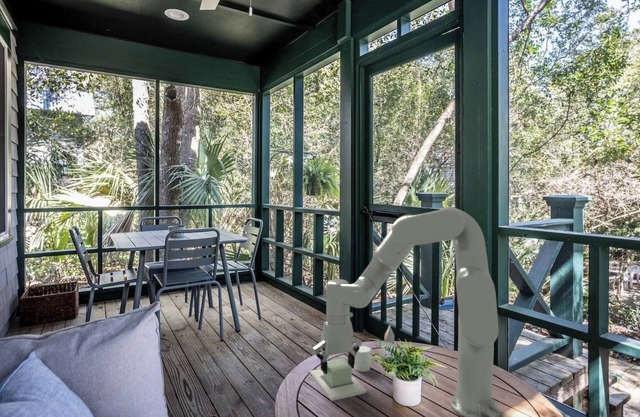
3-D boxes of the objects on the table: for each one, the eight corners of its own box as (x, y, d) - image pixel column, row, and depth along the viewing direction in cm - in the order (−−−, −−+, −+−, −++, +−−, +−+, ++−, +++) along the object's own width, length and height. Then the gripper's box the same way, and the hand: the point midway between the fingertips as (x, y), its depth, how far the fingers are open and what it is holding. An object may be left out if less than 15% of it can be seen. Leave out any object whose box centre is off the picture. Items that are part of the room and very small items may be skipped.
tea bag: (393, 349, 149) (394, 324, 149) (393, 356, 143) (394, 331, 142) (384, 348, 150) (385, 324, 149) (383, 355, 143) (384, 330, 143)
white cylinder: (371, 363, 137) (371, 345, 136) (372, 373, 130) (372, 353, 129) (352, 362, 137) (352, 344, 137) (352, 371, 131) (352, 352, 130)
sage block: (351, 382, 121) (351, 367, 121) (331, 386, 118) (332, 371, 118) (341, 372, 127) (342, 358, 127) (323, 376, 125) (323, 361, 125)
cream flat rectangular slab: (366, 392, 117) (366, 389, 117) (331, 401, 112) (331, 397, 112) (340, 367, 134) (340, 364, 134) (309, 373, 129) (309, 370, 129)
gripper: (355, 311, 129) (355, 359, 129) (309, 318, 122) (309, 369, 123) (366, 318, 122) (366, 369, 123) (317, 325, 115) (318, 380, 116)
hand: (337, 369), depth 123 cm, fingers open, 9 cm apart
